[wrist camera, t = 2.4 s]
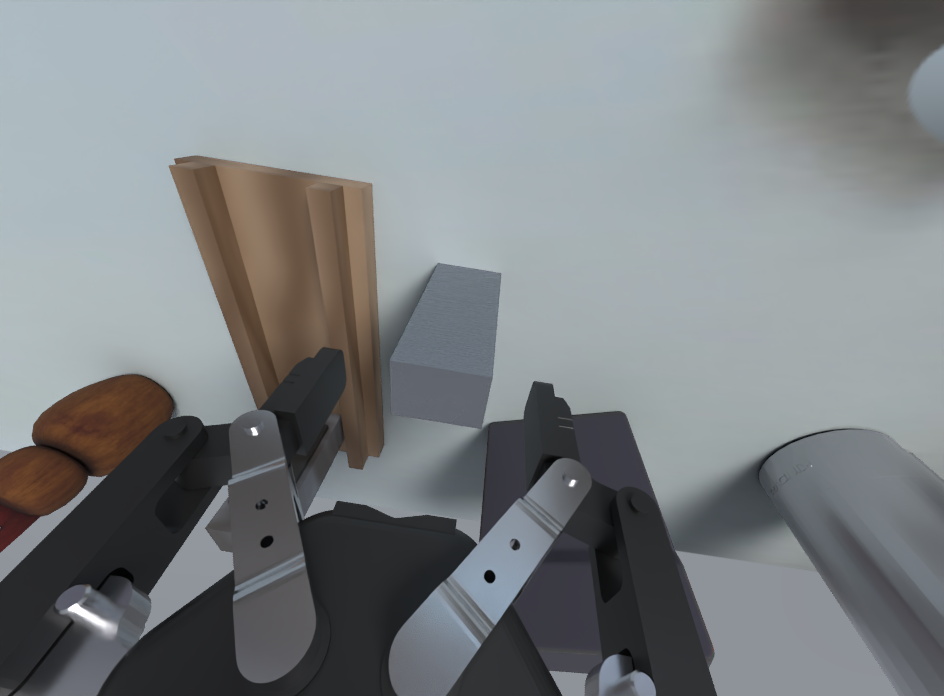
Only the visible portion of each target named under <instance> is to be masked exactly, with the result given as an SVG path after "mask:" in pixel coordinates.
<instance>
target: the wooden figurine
mask: <svg viewBox="0 0 944 696" xmlns="http://www.w3.org/2000/svg"><path fill="white" fill-rule="evenodd" d="M173 409H174V406H173V402H172V399H171V397H170V396H169V394H168V393H167V392H166V391H165V390H164V389H163V388H162V387H160V386H159V385H158V384H156V383H155V382H154V381H152V380H150V379H148V378H146V377H143V376H140V375H121V376H116V377H112V378H109V379H106V380H103V381H100V382H97V383H94V384H91V385H88V386H86V387H84V388H82V389H79V390H77V391H75V392H73V393H71V394H69V395H68V396H66V397H64V398H63V399H61V400H59V401H58V402H56V403H55V404H54V405H52V406H51V407H50V408H48V409H47V410H46V411H44V412H43V413H42V414H41V415H40V417H39V418H38V419H37V421H36V422H35V423H34V425H33V432H32V439H33V442H34V443H35V444H36V446H29V447H24V448H21V449H19V450H16V451H14V452H12V453H9V454H7V455H6V456H4V457H2V458H1V459H0V527H1V528H0V552H1V551H3V550H4V549H5V548H6V547H7V546H8V545H9V544H11V543H12V542H13V541H14V540H15V539H16V538H17V537H18V536H20V535H21V534H22V533H23V532H24V531H25V530H26V529H27V528H28V527H29V526H31V525H32V524H33V523H34V522H35V521H36V520H37V519H38V518H39V517H41V516H45V515H49V514H51V513H52V512H54V511H56V510H58V509H59V508H61V507H63V506H65V505H66V504H67V503H68V502H69V501H71V500H72V499H73V498H75V496H77V495H78V494H79V492H80V491H81V490H82V489H83V488H84V486H85V484H86V482H87V479H88V476H96V477H102V476H105V475H109V474H110V473H111V472H112V471H113V470H114V469H115V468H116V467H117V466H118V465H119V464H120V463H121V462H122V461H123V460H124V459H125V458H126V457H127V456H128V455H129V454H130V453H131V452H132V451H133V450H134V449H135V448H136V447H137V446H138V445H139V444H140V443H141V442H142V441H143V440H144V439H145V438H146V437H147V436H148V435H149V434H150V433H151V432H152V431H153V430H154V429H155V428H156V427H158V426H159V425H160V424H162V423H164V422H166V421H168V420H170V418H171V415H172V412H173Z"/></svg>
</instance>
